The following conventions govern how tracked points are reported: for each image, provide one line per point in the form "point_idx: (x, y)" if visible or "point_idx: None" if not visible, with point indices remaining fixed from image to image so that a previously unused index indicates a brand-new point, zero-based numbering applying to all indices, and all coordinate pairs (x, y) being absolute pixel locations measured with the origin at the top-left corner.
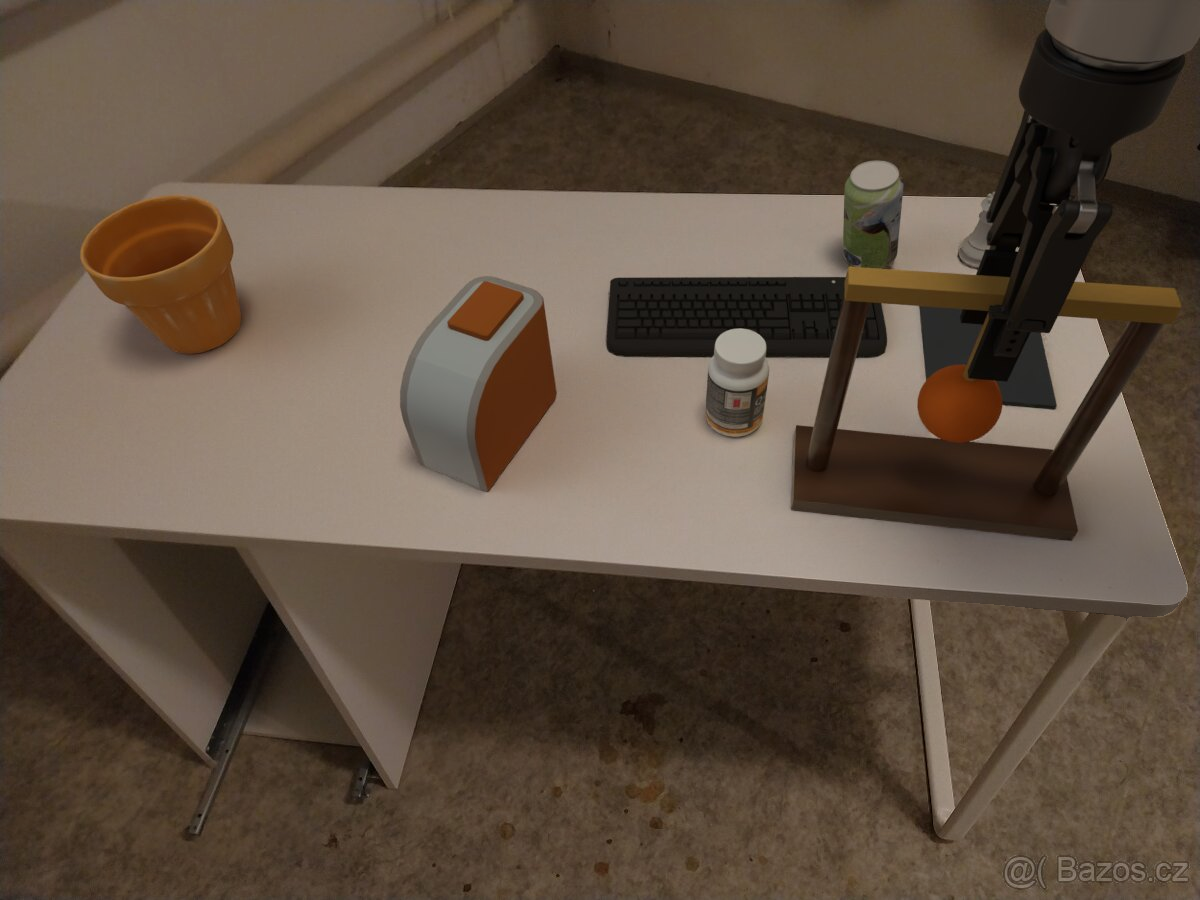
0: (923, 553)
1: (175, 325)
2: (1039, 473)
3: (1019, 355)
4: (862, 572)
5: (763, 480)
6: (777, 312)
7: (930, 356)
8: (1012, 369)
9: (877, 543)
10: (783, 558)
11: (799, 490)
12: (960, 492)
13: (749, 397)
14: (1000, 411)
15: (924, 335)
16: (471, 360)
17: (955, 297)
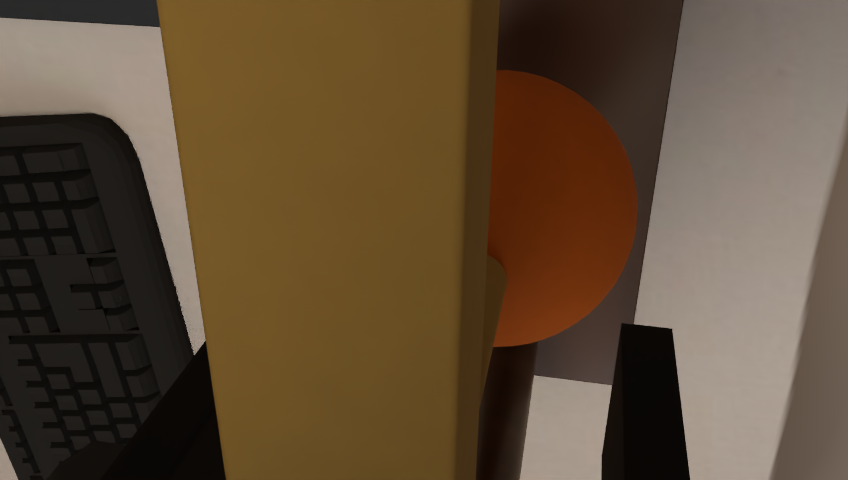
0: (755, 104)
1: None
2: None
3: (685, 449)
4: (802, 246)
5: (544, 404)
6: (73, 361)
7: (96, 10)
8: (677, 380)
9: (719, 205)
10: (753, 390)
11: (594, 372)
12: (589, 11)
13: None
14: (559, 110)
15: (23, 16)
16: None
17: None
